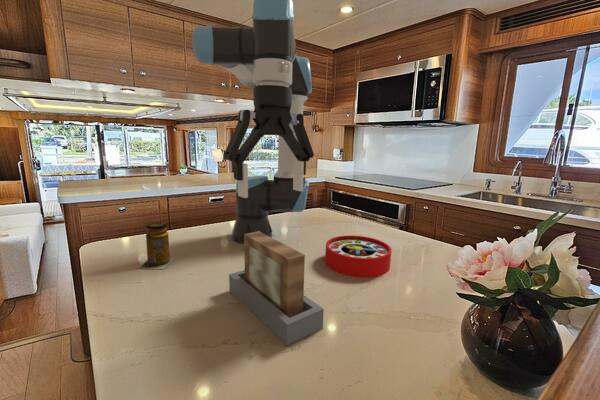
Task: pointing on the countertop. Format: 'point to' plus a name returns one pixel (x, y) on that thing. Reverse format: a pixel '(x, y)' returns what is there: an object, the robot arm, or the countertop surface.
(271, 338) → the countertop surface
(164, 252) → the condiment
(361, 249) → the toy clock
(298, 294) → the walnut frame
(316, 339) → the countertop surface
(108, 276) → the countertop surface
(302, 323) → the charcoal tray
